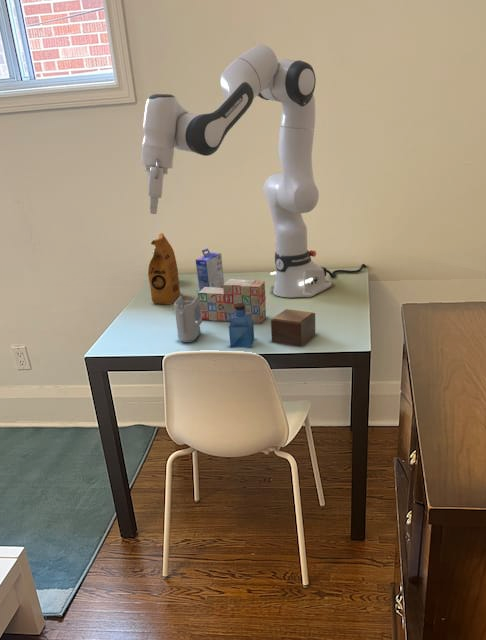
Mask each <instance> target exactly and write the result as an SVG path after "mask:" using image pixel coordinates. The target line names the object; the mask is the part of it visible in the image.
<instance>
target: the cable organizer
mask: <svg viewBox="0 0 486 640" xmlns="http://www.w3.org/2000/svg"><path fill="white" fill-rule="evenodd" d="M173 306H174V313H175V314H174V315H175V322H176V330H177V338H178V340H179V341H181V342H183V343H190V342H194V341H196V339H197V338H198V336H199V335H200V334H201V325H202V323H203V319H202V314H201V304H200V299H199V296H198V295H197V296H196V298H194V300H184V299H183V296H182V295H180V296H179V298H178V299H176V300H175V301H174V303H173Z"/></svg>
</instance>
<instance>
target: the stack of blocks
mask: <svg viewBox="0 0 486 640" xmlns="http://www.w3.org/2000/svg"><path fill="white" fill-rule="evenodd" d="M197 296H199V299H200V304H201V314H202V320H207V321H219V322H231V321H232V318H233V317H234V315H235V312H234V309H235V304H237V303H244V304H245V308H246V314H249V315H250V316H251V318H252V319H253V324H258V325H260V324H262V323H263V321H264V320H265V319H266V318H267V309H266V308H267V307H266V303H267V302H266V281H265V280H255V279H237V278H235V279H234V278H233V279H232V278H229V279H227V281H225V282H224V284H223V287H222V288H215V287H204V288H203V289H202V290H201V291H200V290H199V291H198V292H197Z"/></svg>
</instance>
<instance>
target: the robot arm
mask: <svg viewBox="0 0 486 640" xmlns="http://www.w3.org/2000/svg"><path fill="white" fill-rule="evenodd" d="M316 79H317V78H316V74H315V71H314V68H313V66H312V65H311V64H310V63H308V62H306V61H303V60H301V59H300V60H294V59H286V58H282V59H278V58H277V55H276V53H275V51H274V50H273V48H272V47H270V46H268V45H266V44H257V45H255V46H253V47H251V48H250V49H248V50H246V51H245V52H243V53H242V54H240V55H239V56H238V57H237V58H235V59H234V60H233V61H232V62H230V63H229V64H228V66H227V67H226V68H225V69H224V70H223V72H222V73H221V75H220V80H219V81H220V82H219V83H220V85H219V86H220V90H221V93H222V96H223V98H224V99H223V101H222V102H221V103H220V104H219V105H218V106H217V107H216V108H215V109H214V110H213V111H211V112H208V113H193V112H189V111H188V110H187V109H185V108H184V107H183V106H182V105H181V104H180V103H179V102H178V100H177V98H176V96H175V95H173V94H169V93H164V94H163V93H156V94H155V93H154V94H151V95H150V96H149V97H148V98H147V100H146V103H145V108H144V115H143V125H142V128H143V135H144V136H143V140H142V142H141V156H140V158H141V159H140V164H141V165H144V171H145V172H147V175H146V176H147V191H148V192H147V193H148V197H149V202H150V204H149V212H150V214H151V215H157V213H158V204H159V199H161V198H162V196H163V187H164V186H163V185H164V176H165V175H168V172H169V169H173V166H174V157H175V156H174V155H175V149H177V150H180V151H185V152H190V153H194V154H198V155H201V156H203V157H204V156H205V157H207V156H208V157H209V156H211V155H213V154H214V153H216V152H217V151H218V150H219V148H220V146H221V145H222V143H223V141H224V139H225V137H226V135H228V133H229V132H230V130H231V129H232V128H233V127H234V125H235V124H237V122H238V121H239V120H241V118H242V117H243V116H244V114H246V112H247V111H248V110H249V109H250V107H251V105H252V104H253V101H254V99H255V98H257V97H259V98H260V99H262V100H265V101H272V102H277V103H280V104H281V107H282V108H281V109H282V110H281V111H282V112H281V117H280V124H279V126H280V127H279V135H278V145H277V155H278V158H279V161H280V164H281V171H282V172H279V173H278V172H277V173H274V174H271V175H269V177H267V179H266V180H265V182H264V184H263V195H264V197H265V199H266V201H267V204H268V207H269V211H270V215H271V219H272V223H273V229H274V237H275V252H274V264H275V271H273V272H270V275H274V284H273V289H272V294H273V295H274V296H277V297H281V298H311V297H314V296H315V295H318V294H319V293H321V292H323V291H325V290H328V289H329V288H331V287H332V286H333V284H332V282H331V281H329V280H326V277H327V274H328V275H329V276H330V277H331V278H335V277H336V276H335V274H337V273H346V274H347V273H349V274H357V273H359V272H362V270H363V268H367V265H366V264H365V263H362V264H361V265H360V267H359V269H356V270H355V269H354V270H348V269H336V270H333V271H332V272H331V271H330V270H329V269H327V267H324V266H320V265H319V264H317V263H315V262H314V261H313V260H312V258H311V257H313V258H315V257H316V256H317V251H316V250H312V249H311V250H308V228H307V225H306V223H305V221H304V217H303V215H302V214H306V213H309V212H311V211H313V210H314V209H315V208H316V206H317V205H318V203H319V197H320V192H319V189H318V187H317V186H316V183H315V179H314V171H313V160H312V159H313V158H312V157H313V147H314V145H313V144H314V137H315V127H316V98H315V95H314V92H315V89H316V82H317V81H316Z"/></svg>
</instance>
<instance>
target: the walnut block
mask: <svg viewBox="0 0 486 640" xmlns="http://www.w3.org/2000/svg"><path fill="white" fill-rule="evenodd" d="M270 330H271V332H270V333H271V343H274V344H275V343H277V344H281V345H282V344H283V345H289V346H295V347H303V346H304V345H305V344H307V343H308V342H309V341H310V340H311V339H313V338H314V337H315V336H316V312H313V311H305V310H297V309H289V308H286V309H284V310H283V311H281V312H280V313H278V314H277V315H275V316H274V317H273V318H271V319H270Z"/></svg>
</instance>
